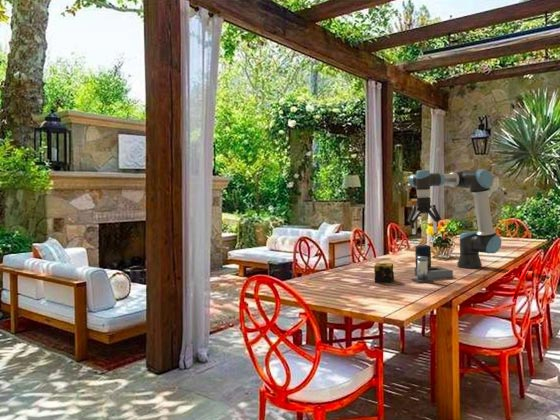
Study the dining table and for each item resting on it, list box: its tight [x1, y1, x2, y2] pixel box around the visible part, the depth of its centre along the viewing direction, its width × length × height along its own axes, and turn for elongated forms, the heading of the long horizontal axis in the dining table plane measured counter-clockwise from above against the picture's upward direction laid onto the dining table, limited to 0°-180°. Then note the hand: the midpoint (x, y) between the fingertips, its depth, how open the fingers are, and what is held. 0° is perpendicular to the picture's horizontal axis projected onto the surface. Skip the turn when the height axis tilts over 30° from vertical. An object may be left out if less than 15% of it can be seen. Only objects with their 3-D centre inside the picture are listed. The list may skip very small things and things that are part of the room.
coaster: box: [411, 277, 435, 284], centre depth 276 cm, size 9×9×1 cm
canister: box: [414, 243, 432, 268], centre depth 304 cm, size 10×10×18 cm
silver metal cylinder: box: [416, 256, 428, 280], centre depth 276 cm, size 6×6×13 cm
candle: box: [373, 262, 395, 284], centre depth 279 cm, size 10×10×10 cm
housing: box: [414, 265, 454, 280], centre depth 289 cm, size 16×16×4 cm
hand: (424, 233), depth 278 cm, fingers open, 13 cm apart
